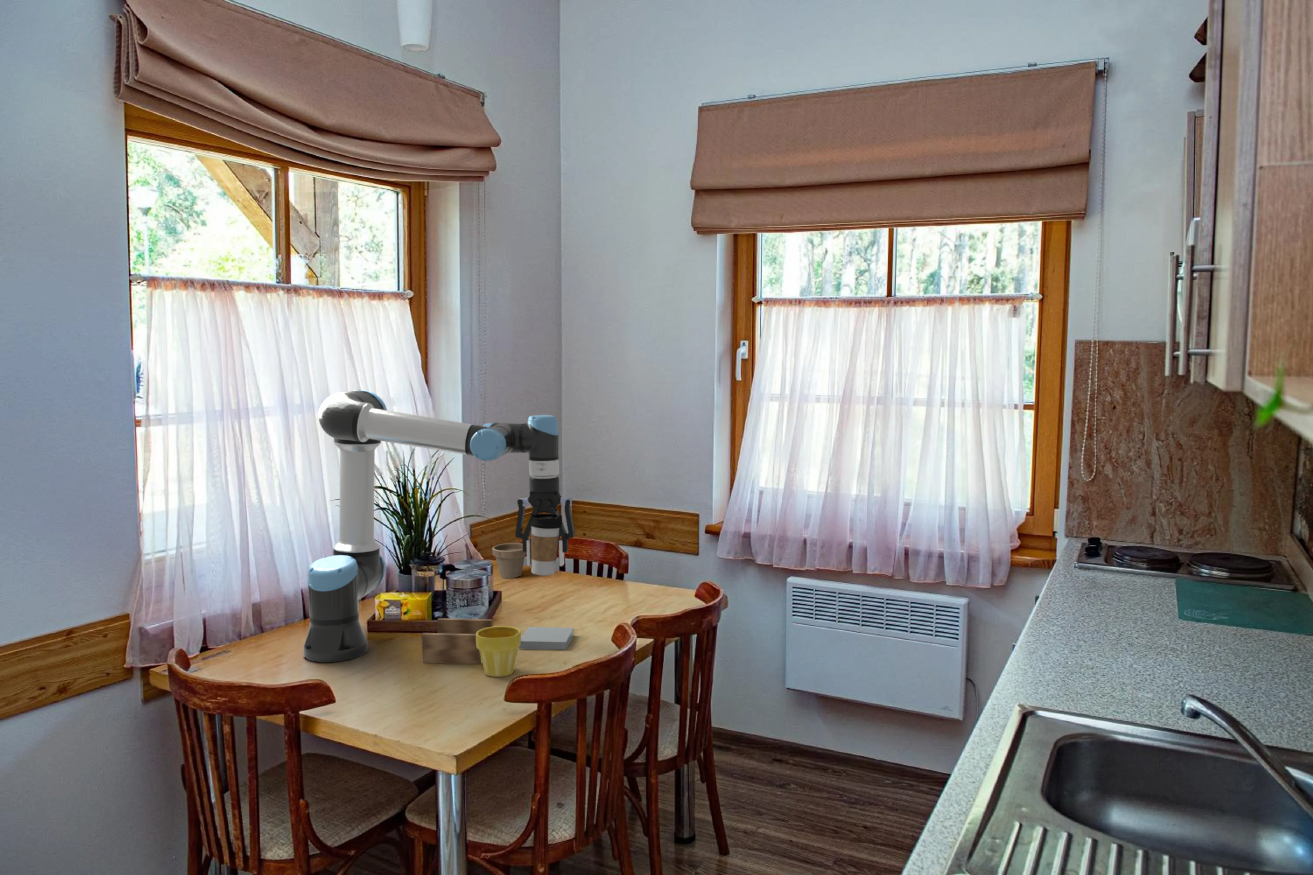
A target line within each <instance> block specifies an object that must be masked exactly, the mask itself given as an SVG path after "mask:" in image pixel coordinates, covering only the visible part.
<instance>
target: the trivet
mask: <svg viewBox="0 0 1313 875" xmlns="http://www.w3.org/2000/svg"><path fill="white" fill-rule="evenodd" d="M574 632H575V631H574V627H553V626H552V627H549V626H548V627H547V626H546V627H545V626H528V627H527V629H526V630H525V631H524V633H523V634H522V635H521V645H520V646H519V647H518V650H550V651H551V650H552V651H553V650H555V651H556V650H558V651H560V650H561V651H566V650H567V648H568V646H569V644H571V641H572V639H573V637H574V634H575V633H574Z"/></svg>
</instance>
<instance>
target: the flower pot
mask: <svg viewBox="0 0 1313 875" xmlns="http://www.w3.org/2000/svg"><path fill="white" fill-rule="evenodd" d="M491 550H492V556H493V557H495V560H496V564H497V567H498V568H497V569H498V571H499V574H500V578H502V579H516V578H515V577H518V576H520V577H521V576H522V572H523V567H524V562H525V559H526V556H527V552H523V543H519V542H507V543H499V544H496V545H493V547H492V549H491ZM518 578H519V577H518Z"/></svg>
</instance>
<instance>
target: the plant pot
mask: <svg viewBox="0 0 1313 875" xmlns="http://www.w3.org/2000/svg"><path fill="white" fill-rule="evenodd" d="M521 637H522V631H521V630H520V629H519V627H518V628H517V627H515V626H508V625H493V627H487V628H483V629H481V630H479V631H477V632H476V647H477V649H479V651H480V655H481V664H482V666H483V667H482V668H483V671H484V674H485V675H486V676H488V677H493V678H502V677H503V678H504V677H508V676H509V675H512V674H513V673H514V669H515V664H516V659H517V654H518V650H519V646H520V645H521Z"/></svg>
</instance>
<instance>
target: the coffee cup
mask: <svg viewBox="0 0 1313 875" xmlns="http://www.w3.org/2000/svg"><path fill="white" fill-rule="evenodd" d="M530 516H531V515H530ZM562 524H563V525H564V523H563V515H562V514H559V517H555V518H553V517H552V516H551V513H538V515H537V517H534V516H531V520H530V526H531V532H530V535H529V538H530V539H531V565H530V567H531V569H530V570H531V573H532V574H533V575H536V576H537V575H538V576H552V575H554V574H555V572H556V565H557V560H558V559H557V558H558V555H559V554H558V553H559V540H560V539H561V535H560V533H559V528H561V525H562Z"/></svg>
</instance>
